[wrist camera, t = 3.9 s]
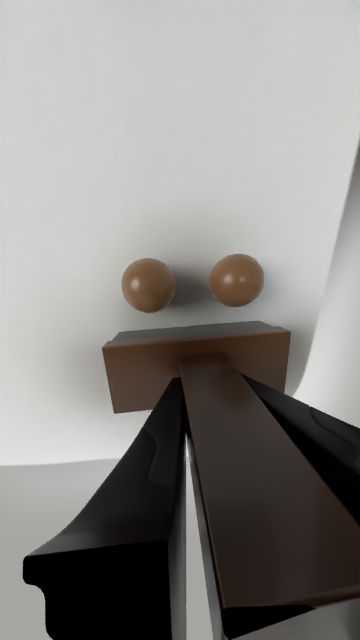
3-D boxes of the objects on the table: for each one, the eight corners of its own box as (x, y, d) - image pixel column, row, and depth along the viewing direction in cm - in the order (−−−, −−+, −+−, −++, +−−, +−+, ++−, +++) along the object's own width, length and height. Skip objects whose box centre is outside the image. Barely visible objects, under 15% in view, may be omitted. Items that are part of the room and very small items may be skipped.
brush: (259, 317, 12) (693, 494, 2) (256, 367, 13) (545, 647, 3) (118, 329, 11) (-198, 662, 1) (126, 380, 12) (-33, 793, 2)
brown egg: (181, 272, 11) (187, 269, 8) (165, 314, 11) (165, 326, 8) (136, 253, 10) (125, 243, 7) (122, 298, 11) (106, 305, 8)
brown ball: (255, 268, 11) (286, 264, 8) (235, 309, 12) (259, 319, 9) (215, 249, 11) (234, 238, 8) (197, 293, 11) (208, 298, 8)
